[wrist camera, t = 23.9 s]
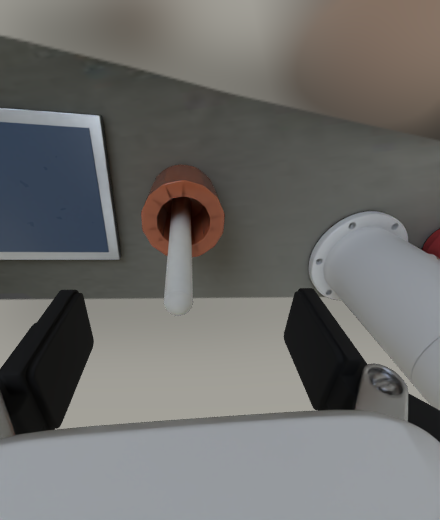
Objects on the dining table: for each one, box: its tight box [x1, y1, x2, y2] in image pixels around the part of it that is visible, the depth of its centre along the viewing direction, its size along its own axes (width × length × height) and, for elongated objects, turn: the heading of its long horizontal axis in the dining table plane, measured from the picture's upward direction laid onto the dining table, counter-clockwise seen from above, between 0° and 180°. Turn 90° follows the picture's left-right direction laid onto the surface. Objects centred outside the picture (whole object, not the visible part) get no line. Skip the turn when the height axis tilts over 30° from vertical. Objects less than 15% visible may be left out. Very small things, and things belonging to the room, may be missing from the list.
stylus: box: [164, 196, 193, 316], centre depth 21 cm, size 2×2×14 cm
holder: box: [141, 165, 225, 257], centre depth 24 cm, size 7×7×7 cm
